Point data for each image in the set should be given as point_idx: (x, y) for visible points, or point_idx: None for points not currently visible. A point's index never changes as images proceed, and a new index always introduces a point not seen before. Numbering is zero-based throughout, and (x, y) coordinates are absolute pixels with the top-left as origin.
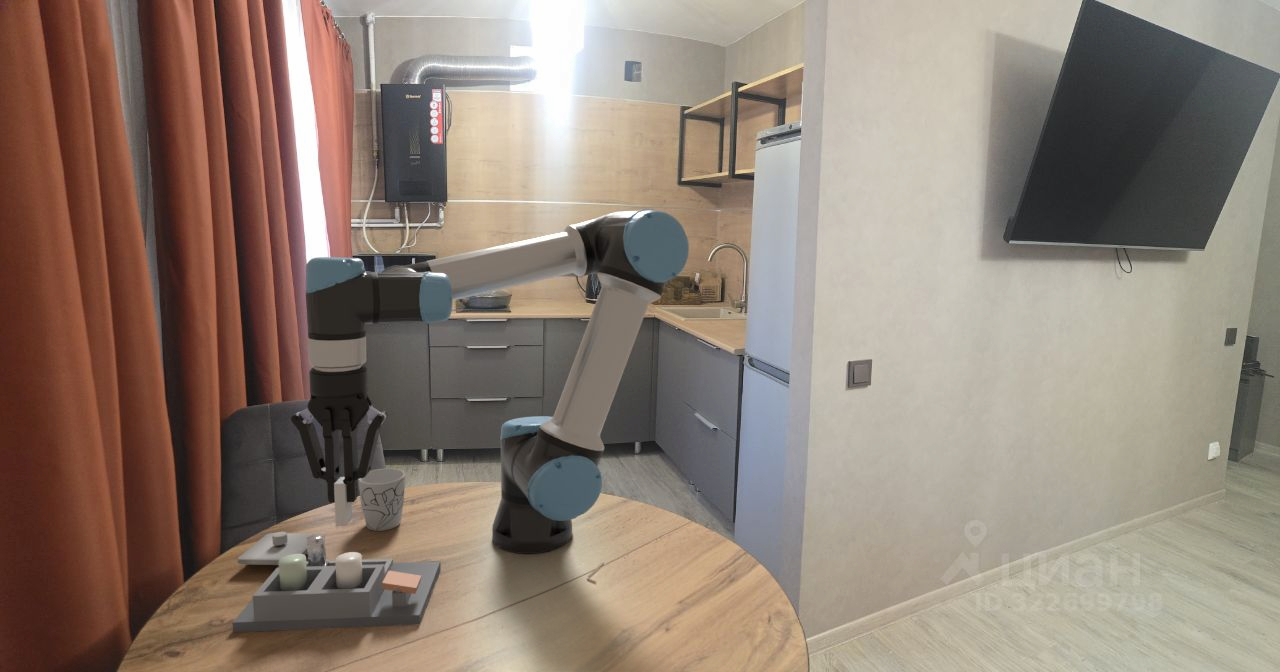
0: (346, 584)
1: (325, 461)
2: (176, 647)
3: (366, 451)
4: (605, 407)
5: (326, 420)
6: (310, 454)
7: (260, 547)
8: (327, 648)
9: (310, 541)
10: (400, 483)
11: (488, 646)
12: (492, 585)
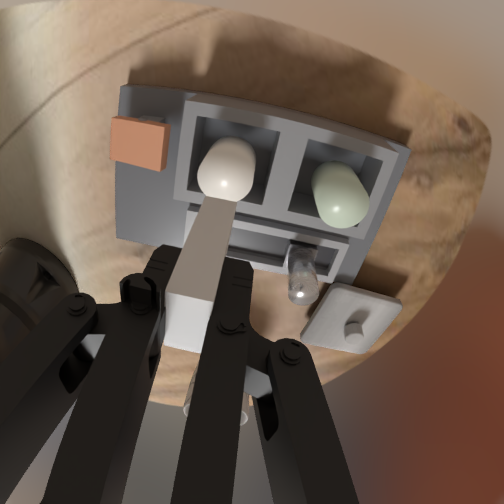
0: (233, 138)
1: (240, 412)
2: (461, 138)
3: (2, 394)
4: None
5: None
6: (323, 459)
7: (375, 325)
8: (263, 48)
9: (312, 283)
10: (187, 398)
11: (45, 29)
12: (50, 172)
